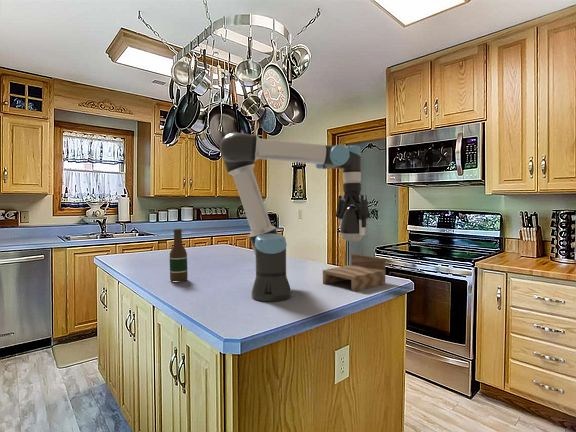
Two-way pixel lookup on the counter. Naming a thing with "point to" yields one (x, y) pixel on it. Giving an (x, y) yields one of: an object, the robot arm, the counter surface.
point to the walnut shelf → (358, 272)
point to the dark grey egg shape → (350, 224)
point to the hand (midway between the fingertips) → (352, 234)
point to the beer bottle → (178, 259)
